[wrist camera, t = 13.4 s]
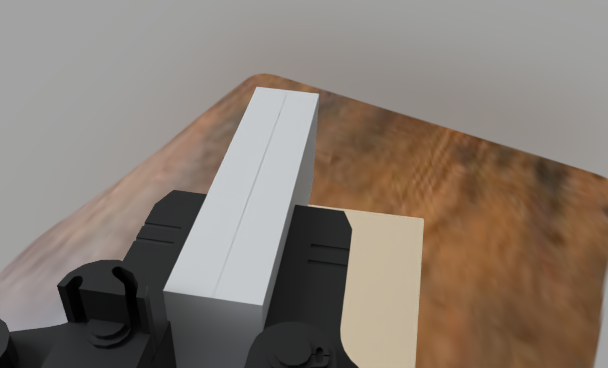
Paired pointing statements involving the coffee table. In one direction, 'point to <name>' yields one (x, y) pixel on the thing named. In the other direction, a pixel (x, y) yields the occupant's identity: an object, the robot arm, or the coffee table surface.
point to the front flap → (382, 289)
